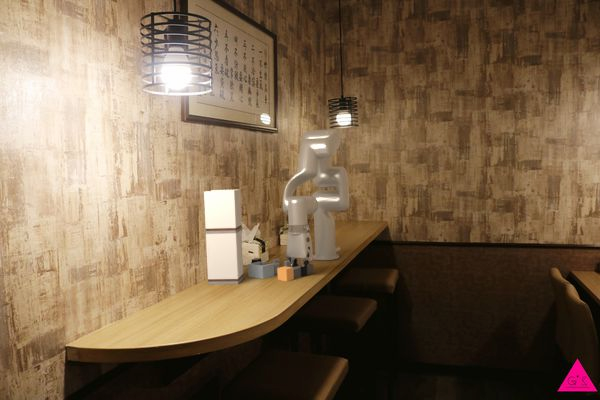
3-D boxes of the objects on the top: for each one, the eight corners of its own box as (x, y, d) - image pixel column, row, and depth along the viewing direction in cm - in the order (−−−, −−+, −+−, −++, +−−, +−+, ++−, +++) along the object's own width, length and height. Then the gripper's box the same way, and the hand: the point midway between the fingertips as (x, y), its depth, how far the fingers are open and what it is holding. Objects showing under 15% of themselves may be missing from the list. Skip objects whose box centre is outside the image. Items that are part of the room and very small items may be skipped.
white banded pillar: (243, 278, 202) (240, 189, 200) (238, 284, 191) (234, 190, 189) (215, 278, 203) (211, 190, 201) (208, 284, 192) (203, 191, 190)
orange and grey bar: (305, 272, 209) (305, 260, 209) (314, 273, 206) (314, 262, 206) (277, 280, 196) (277, 268, 196) (286, 281, 193) (286, 269, 193)
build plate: (258, 272, 214) (257, 261, 214) (242, 272, 217) (241, 261, 217) (270, 266, 226) (269, 256, 226) (255, 266, 228) (254, 256, 228)
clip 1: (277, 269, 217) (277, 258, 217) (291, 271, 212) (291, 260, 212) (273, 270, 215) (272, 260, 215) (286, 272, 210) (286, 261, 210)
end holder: (259, 273, 209) (259, 261, 209) (274, 275, 204) (273, 263, 204) (248, 276, 204) (247, 264, 204) (263, 279, 199) (262, 266, 199)
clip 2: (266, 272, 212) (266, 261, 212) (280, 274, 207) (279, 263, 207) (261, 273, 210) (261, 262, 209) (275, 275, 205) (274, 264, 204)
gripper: (320, 229, 199) (322, 275, 200) (288, 227, 210) (290, 271, 211) (308, 231, 194) (310, 279, 195) (276, 229, 204) (277, 274, 205)
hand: (299, 274), depth 203 cm, fingers closed on orange and grey bar, 3 cm apart
